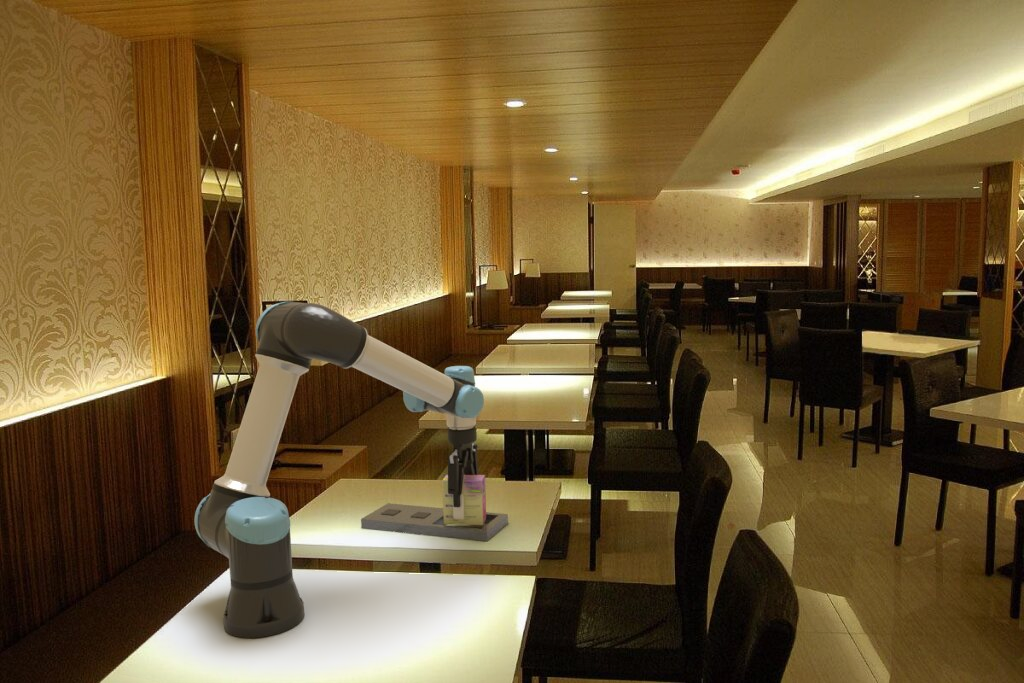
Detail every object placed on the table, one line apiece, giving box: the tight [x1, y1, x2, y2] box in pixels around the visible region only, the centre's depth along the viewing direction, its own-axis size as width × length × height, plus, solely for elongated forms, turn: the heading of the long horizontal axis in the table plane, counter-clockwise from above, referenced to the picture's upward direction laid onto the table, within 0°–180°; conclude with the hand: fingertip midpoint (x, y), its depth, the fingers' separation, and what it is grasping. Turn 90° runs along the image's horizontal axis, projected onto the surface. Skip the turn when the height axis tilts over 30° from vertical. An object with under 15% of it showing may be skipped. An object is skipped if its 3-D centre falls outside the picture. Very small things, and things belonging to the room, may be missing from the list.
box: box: [441, 474, 487, 526], centre depth 206 cm, size 10×6×12 cm, turn 84°
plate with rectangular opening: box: [360, 502, 509, 542], centre depth 210 cm, size 14×36×3 cm, turn 69°
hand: (465, 514), depth 206 cm, fingers closed on box, 7 cm apart
